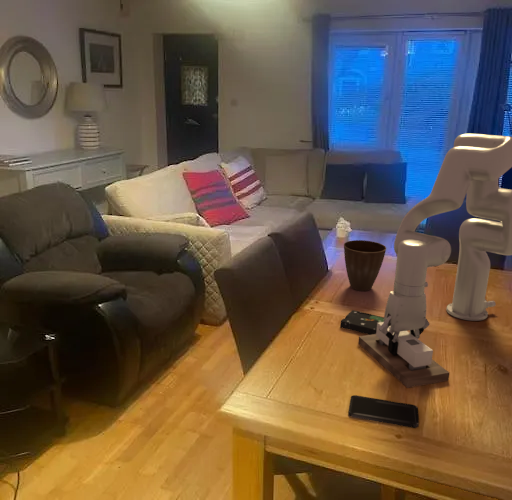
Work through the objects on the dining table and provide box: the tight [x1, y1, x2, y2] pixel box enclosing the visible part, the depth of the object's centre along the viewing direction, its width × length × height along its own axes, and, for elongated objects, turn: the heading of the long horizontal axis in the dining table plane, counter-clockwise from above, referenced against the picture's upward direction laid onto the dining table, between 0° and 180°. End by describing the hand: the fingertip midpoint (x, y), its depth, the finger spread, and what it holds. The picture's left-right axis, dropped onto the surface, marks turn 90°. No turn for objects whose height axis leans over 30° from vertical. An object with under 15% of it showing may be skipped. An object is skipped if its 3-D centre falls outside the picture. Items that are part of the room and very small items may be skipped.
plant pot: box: [343, 239, 387, 292], centre depth 187 cm, size 15×15×16 cm
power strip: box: [376, 322, 434, 371], centre depth 137 cm, size 5×18×7 cm, turn 18°
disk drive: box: [339, 309, 384, 335], centre depth 157 cm, size 10×3×15 cm
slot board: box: [358, 334, 450, 389], centre depth 137 cm, size 24×12×2 cm, turn 18°
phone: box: [348, 394, 420, 429], centre depth 115 cm, size 8×1×15 cm
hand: (401, 351), depth 137 cm, fingers closed on power strip, 4 cm apart
